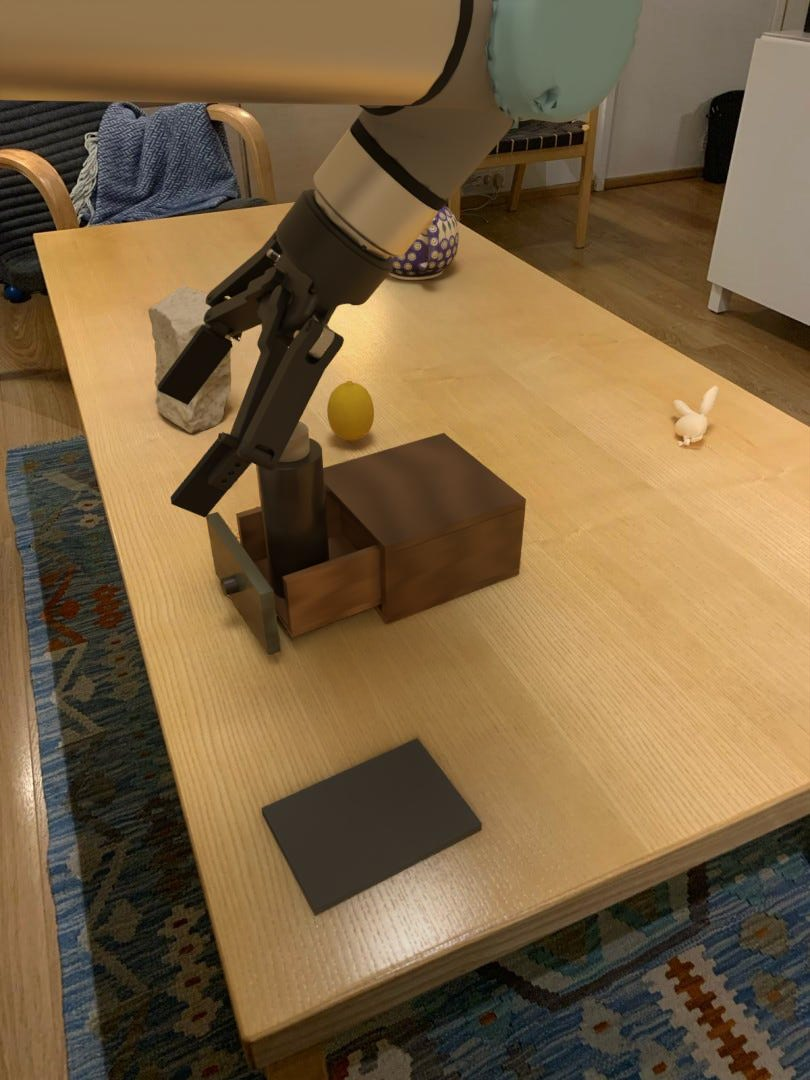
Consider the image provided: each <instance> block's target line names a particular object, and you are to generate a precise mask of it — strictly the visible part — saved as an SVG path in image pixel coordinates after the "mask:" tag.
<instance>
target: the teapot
mask: <svg viewBox="0 0 810 1080" xmlns="http://www.w3.org/2000/svg"><path fill="white" fill-rule="evenodd" d="M459 239H460V234H459V224H458V220H457V218H456V216H455V214H454V213H453V211H452V210H451V209H449V207H447V206H446V205H445V206H444V207H443V208H442V209H441V210H440V211H439V212H438V213H437V215H436V216H435V217H434V219H433V224H432V226H431V227H430V228H429V229H427V230H424V231H423V232H422V233H421V234H420V236H419V237H418V238H417V239H416V241H415V242H414V243H413V244H412V245H411V247H410V248H409V249H408V250H407V252H406V253H405V254H404V255H403V256H401V257H393V256H391V257H392V259H393V270H392V271H391V272H390V273H389V275H388V276H390V277H392V278H394V279H397V280H402V281H403V280H404V281H425V280H431V279H434V278H438V277H439V276H441V275H442V274H443V273H444V270H445V269H446V268H448V267H449V266H450V265H451V264H452V263H453V261H454V260H455V258H456V255H457V252H458V249H459Z"/></svg>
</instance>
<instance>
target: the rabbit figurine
mask: <svg viewBox="0 0 810 1080" xmlns="http://www.w3.org/2000/svg"><path fill="white" fill-rule="evenodd" d="M718 396H719V387H718V385H713V386H711V387H710V388H709V389H708V390H706V391H705V393H704V395H703V397H702V398H701V401H700V405H699V413H697V412H696V411H694V410H692V409H691V408H690V407H689V406H688V405H687V404H686V403H685V402H684V401H683V400H680V399H674V400H673V402H672V407H673V408H674V410H675V412H676V413H677V414H679V416H681V417H680V418H679V419H678V420H677V421H676V423H675V424H674V431H675V433H676V435H677V436H679V437H682V439H683V441H681V440H678V446H679V447H681V446H683V445H685V446H689V445H691V443H696V442H699V441H701V440H703V438H704V434H705V433H706V431H707V429H708V424H709V422H708V417H706V415H709V414H710V413H711V412H712V411H713V408H714V407H715V404H716V402H717V399H718Z"/></svg>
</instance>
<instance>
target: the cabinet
mask: <svg viewBox="0 0 810 1080" xmlns="http://www.w3.org/2000/svg"><path fill="white" fill-rule="evenodd" d="M323 470H324V485H325V491H326V492H327V493H328V494H329V495H330V496H331V497H332V498H333V499H334V500H335V501H336V503H337V504H338V505H339V506H340V507H341V508H342V509H343V510H344V511H345V512H346V513H347V515H348V516H349V517H350V518H351V519H352V520H353V521H354V522H355V523H356V524H357V525H358V527H359V528H360V529H361V530H362V531H363V532H364V533H365V534H366V535H367V536H368V537H369V539H370V540H371V541H372V542H373V543H374V544H375V545H376V546H377V547H378V548H379V549H380V561H381V600H382V604H380V605H378V606H375V607H372V608H371V609H373V610H374V612H375V613H376V614H377V616H379V618H380V619H381V620H382V622H384V624H385V625H390V624H392V623H395V622H398V621H400V620H403V619H405V618H408V617H410V616H413V615H415V614H418V613H421V612H424V611H426V610H429V609H432V608H434V607H437V606H440V605H442V604H444V603H447V602H450V601H452V600H456V599H457V598H460V597H463V596H466V595H468V594H470V593H471V594H472V593H473V592H476V591H478V590H481V589H484V588H487V587H488V586H492V585H494V584H497V583H499V582H501V581H502V582H503V581H504V580H507V579H509V578H512V577H515V576H517V575H519V574H520V571H521V570H520V569H521V568H520V567H521V559H522V548H523V539H524V537H523V536H524V529H525V528H524V527H525V516H526V505H527V498H526V497H524V496H523V495H522V494H521V493H519V492H518V490H515V489H514V488H513V487H512V486H511V485H509V483H507V482H506V481H504V480H503V479H502V478H501V477H499V476H498V475H497V474H496V473H494V472H493V471H492V470H490V468H488V467H487V466H485V464H483V463H482V462H481V461H480V460H478V459H477V458H476V457H475V456H474V455H472V454H471V453H470V452H469V451H467V450H466V449H465V448H464V447H462V446H461V445H460V444H459V443H457V442H456V441H455V440H454V439H452V438H451V437H450V436H448V435H447V434H446V433H445V432H441V433H438V434H435V435H431V436H428V437H424V438H422V439H421V438H420V439H418V440H414V441H410V442H407V443H404V444H400V445H396V446H394V447H390V448H387V449H383V450H379V451H377V452H374V453H369V454H366V455H363V456H360V457H356V458H352V459H349V460H346V461H342V462H339V463H335V464H331V465H329V466H326V467H323Z"/></svg>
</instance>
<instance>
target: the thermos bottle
mask: <svg viewBox="0 0 810 1080" xmlns="http://www.w3.org/2000/svg"><path fill="white" fill-rule="evenodd" d="M309 432H310V431H309V426H307V424H306V423H304V422H302V421H300V420H299V422H298V424H297V426H296V428H295V430H294V432H293V434H292V436H291V438H290V440H289V442H288V444H287V446H286V448H285V450H284V452H283V454H282V456H281V458H280V460H279V462H278V464H277V465H276V467H275V468H274V469H273V470H272V471H269V470H266V469H264V468H262V467H260V466H258V465H256V464H255V470H256V478H257V479H256V480H257V486H258V494H259V503H260V506H261V511H262V520H263V528H264V536H265V544H266V552H267V561H268V569H269V577H270V585H271V587H272V589H273V590H274V593H275V594H276V595H277V596H279V597H281V598H283V599H285V595H284V586H283V576H286V575H289V574H292V573H295V572H297V571H300V570H303V569H306V568H309V567H312V566H315V565H318V564H321V563H324V562H327V561H330V558H329V543H328V528H327V514H326V499H325V485H324V470H323V468H324V458H323V448H322V445H321V444H320V443H319V442H318V441H317V440H315V439H313V438H311V437H310V433H309Z"/></svg>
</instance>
